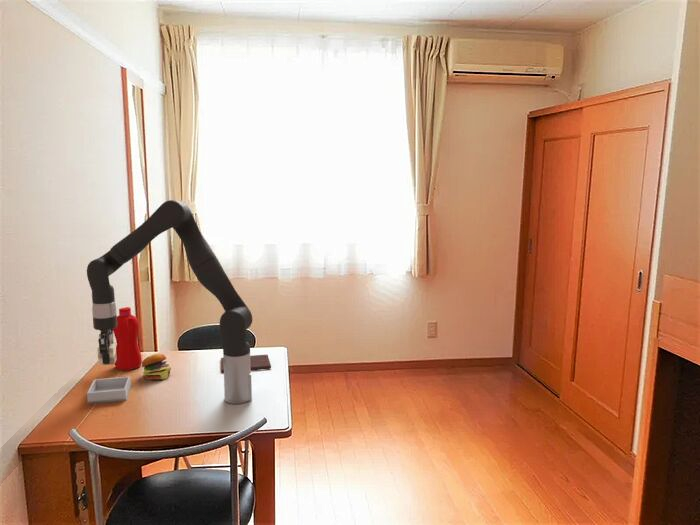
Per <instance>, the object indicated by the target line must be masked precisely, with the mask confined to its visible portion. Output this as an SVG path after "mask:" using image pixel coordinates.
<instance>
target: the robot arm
mask: <svg viewBox="0 0 700 525" xmlns="http://www.w3.org/2000/svg"><path fill="white" fill-rule="evenodd" d="M172 228H173V230H174V231H175V233H176V234H177V236H178V238H179V239H180V240H181V242H182V245H183V247H184V251H185V254H186V258H187V261H188V264H189V266H190V268H191V270H192V273H193V275H194V276H195V277H196V279H197V280H198V282H199V283H200V284H201V286H203V288H205V289H206V290H207V291H208V292H210V293H211V294H212V295H213V296H215V298H216V299H217V301H219V303H220V306H222V308H223V310H224V312H223V313H222V314H221V317H220V318H219V337H220V346H221V348H222V355H223V356H222V358H223V361H224V373H223V388H224V393H223V394H224V401H225V402H226V403H228V404H231V405H233V404H234V405H241V404H244V403H247V402H251V401H252V400H253V393H252V388H253V387H252V371H251V367H250V356H251V345H250V343H249V341H248V342H247V336H246V335H247V333H246V332H247V330H248V329H249V328H250V327H251V326H252V324H253V315H252V312H251V310H250V309H249V307H248V306H247V305H246V302H244V300H243V299H242V297H241V296H240V294H239V293H238V292H237V290H236V289H235V287H234V286H233V284H232V281H231V280H230V278H229V276H228V275H227V273H226V272H225V270H224V268H223V266H222V264H221V261H219V258H218V257H217V256H216V254H215V252H214V251H213V249H212V247H211V246H210V244H209V243H208V241H207V240H206V238H205V237H204V235H203V233H202V232H201V230H200V228H199V226H198V224H197V221H196V219H195V217H194V214H193V212H192V210H191V208H190V207H189V206H188V204H186V203H185V202H183V201H181V200H176V199H175V200H173V199H169V200H166V201H164V202H163V203H162V204H161V205H160V206H159V207H158V208H157V209H156V210H154V212H152V214H151V215H150V216H149V217H148V218H147V219H146V220H145V221H144V222H143V223H141V224H140V225H139V226H138V227H137V228H136V229H134V230H133V231H131V232H130V233H129V234H127V235H126V236H125V237H123V238H122V239H121V240H119V241H118V242H116V243H115V244H114V245H113V246H112V247H111V248H110V250H109V251H107V252H106V253H104V254H103V255H102V256H100V257H97V258H95V259H93V260H91V261H90V262H89V263H88V265H87V267H86V277H87V280H88V283H89V287H90V289H91V299H92V301H91V302H92V307H91V311H92V323H93V324H92V325H93V329H94V330H95V331H100V332H99V334H98V339H97V342H98V348H99V349H100V354H102V360H103V364H109V363H110V356H109V353H110V351H109V347H110V346H111V344H115V343H114V342H115V341H114V332H113V328H115V327H116V326H117V316H118V315H117V305H116V301H115V300H116V299H115V298H116V297H115V288H114V286H113V285H112V284H111V283H110V276H111V275H112V274H114V273H116V271H118V270H119V269H120V268H122V266H123V265H125V264H126V263H128V262H129V261H131V260H132V259H134V258H135V257H136V256H138V255H139V254H140V253H141V252H143V251H144V250H145V249H146V248H147V246H148V245H150V243H151V242H152V241H153V240H155V238H156V237H158V236H159V235H161V234H162V233H164V232H166V231H168V230H169V229H172ZM103 348H106V350H103Z"/></svg>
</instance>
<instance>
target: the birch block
mask: <svg viewBox="0 0 700 525" xmlns="http://www.w3.org/2000/svg"><path fill="white" fill-rule="evenodd" d="M116 345H117V343H113V344H111V346H110V347H109V351H110V353H109V356H110V363H109V364H103V360H102V354H100V349H99V347H97V359H98V363H97V364H98V366H99V367H100V366H113V365H115V362H116V360H117V357H116ZM103 350H106V348H103Z"/></svg>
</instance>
